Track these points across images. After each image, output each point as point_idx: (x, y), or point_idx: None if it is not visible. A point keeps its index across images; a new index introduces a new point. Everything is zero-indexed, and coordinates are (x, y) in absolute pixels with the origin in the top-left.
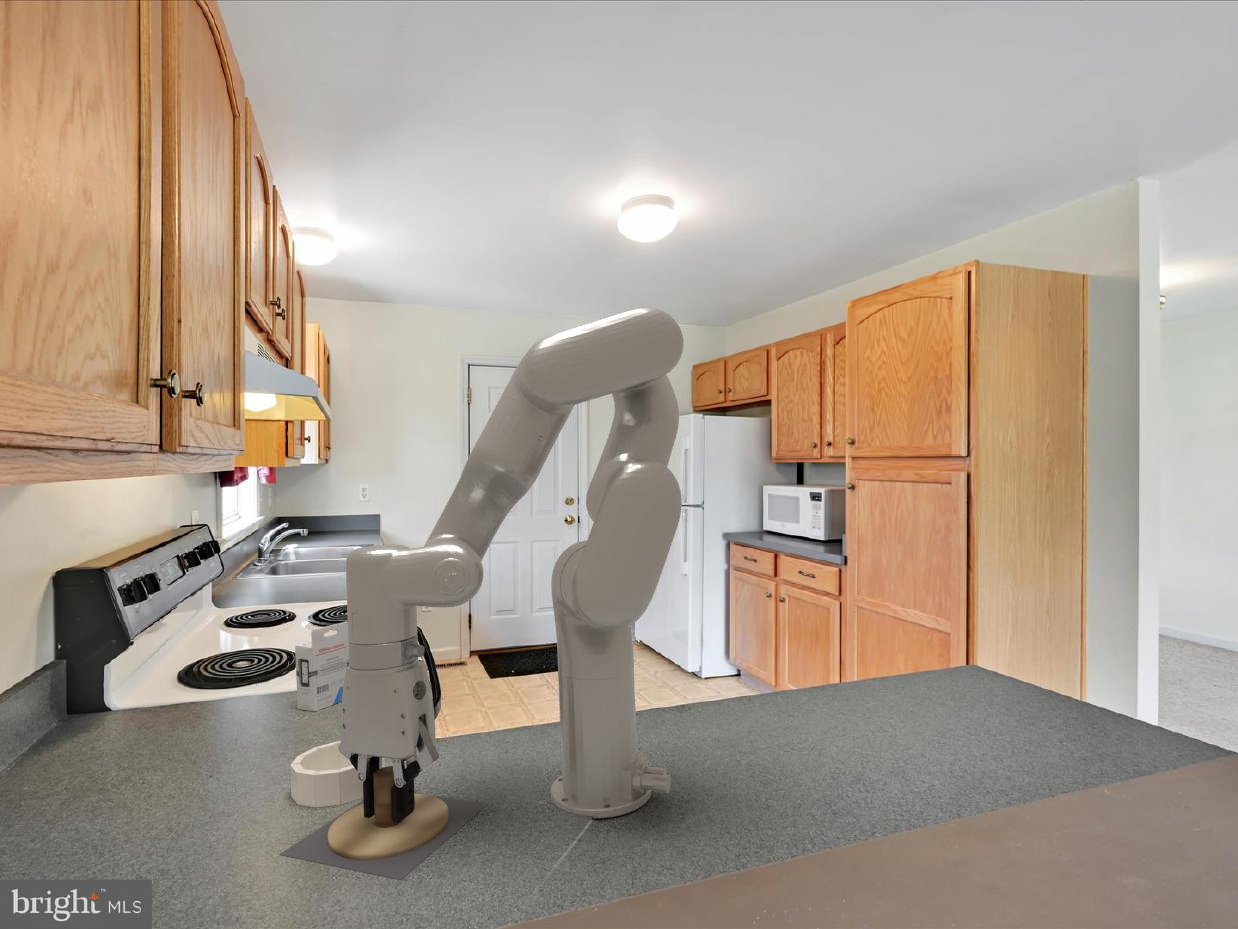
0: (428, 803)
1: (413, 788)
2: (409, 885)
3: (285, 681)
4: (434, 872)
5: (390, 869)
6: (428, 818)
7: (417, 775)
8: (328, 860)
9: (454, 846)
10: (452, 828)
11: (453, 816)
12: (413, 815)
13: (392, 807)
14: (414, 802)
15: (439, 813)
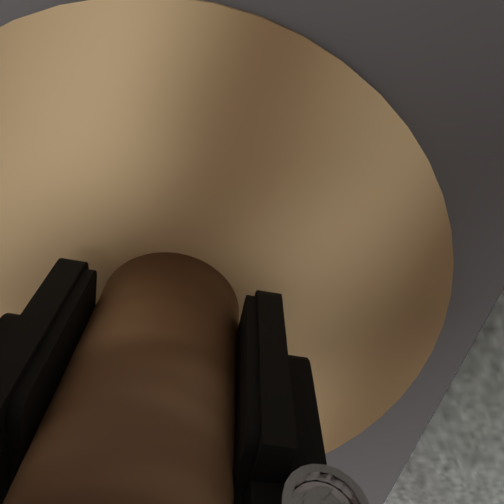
0: (295, 132)
1: (318, 439)
2: (393, 493)
3: None
4: (450, 450)
5: None
6: (361, 285)
7: (356, 497)
8: None
9: (489, 336)
10: (476, 280)
11: (457, 177)
12: (267, 264)
13: None
14: (310, 369)
15: (403, 236)
